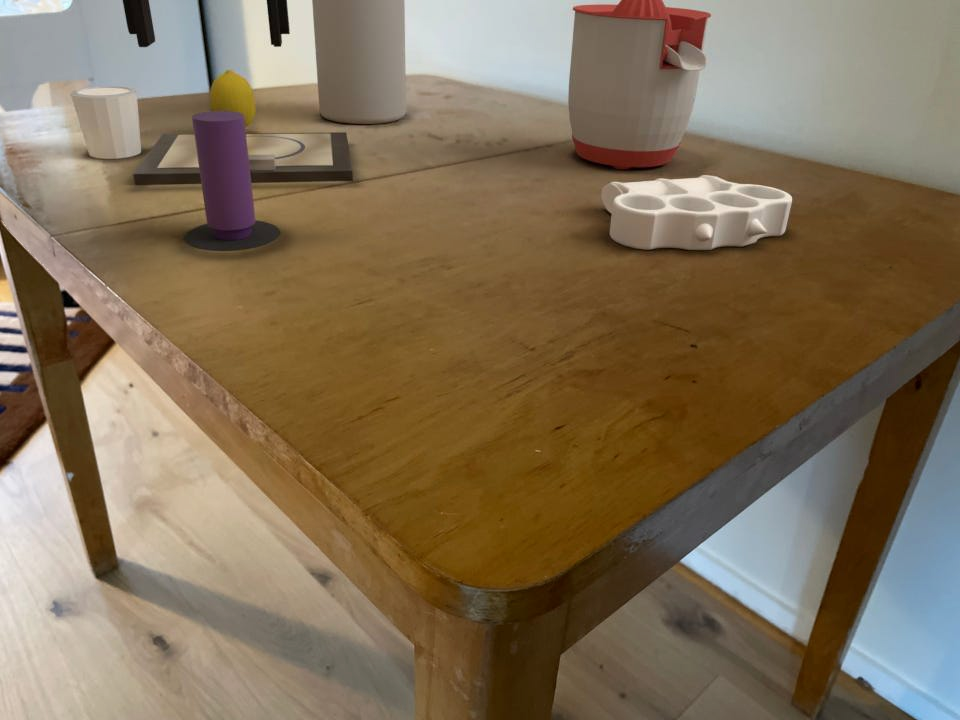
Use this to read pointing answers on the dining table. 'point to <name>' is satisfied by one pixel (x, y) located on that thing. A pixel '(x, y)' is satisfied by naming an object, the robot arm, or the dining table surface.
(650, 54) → the citrus juicer
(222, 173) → the cylinder
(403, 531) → the dining table surface
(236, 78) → the lemon
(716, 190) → the knuckle duster
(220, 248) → the coaster
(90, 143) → the white cup
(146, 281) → the dining table surface
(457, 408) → the dining table surface
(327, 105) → the cylinder vase
